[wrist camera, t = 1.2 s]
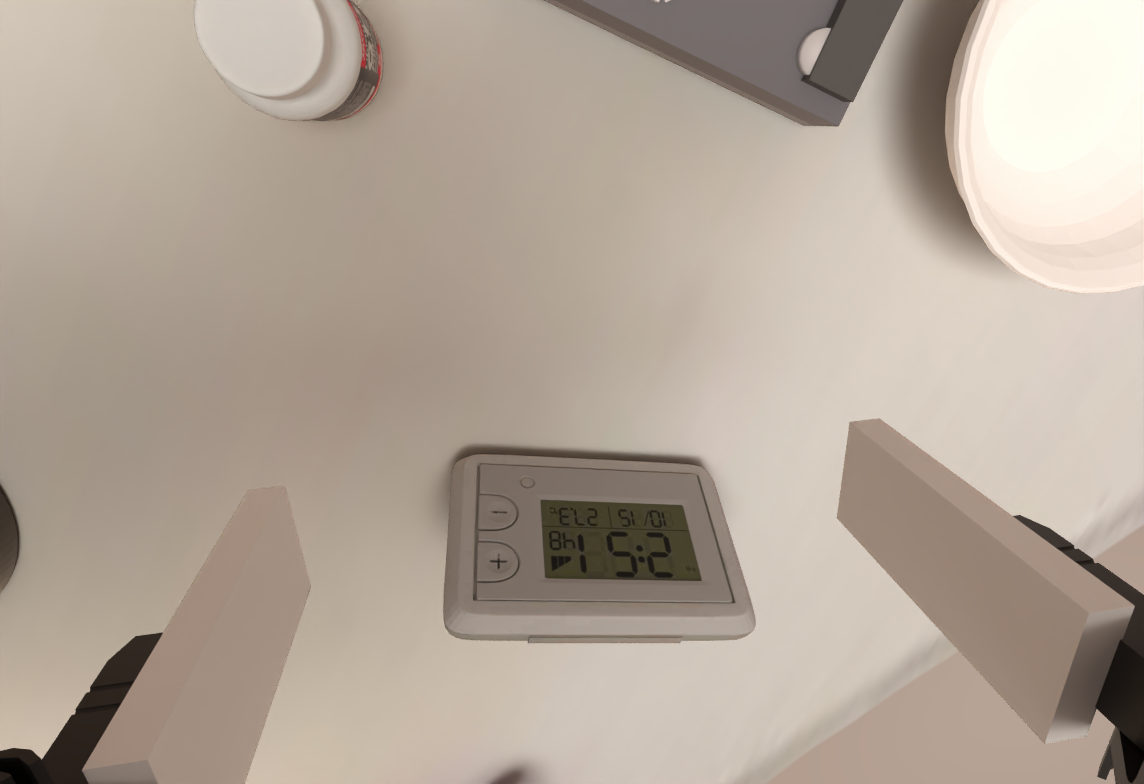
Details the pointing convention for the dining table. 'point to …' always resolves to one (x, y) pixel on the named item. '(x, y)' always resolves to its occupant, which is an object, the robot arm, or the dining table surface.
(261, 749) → the dining table surface
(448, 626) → the digital clock
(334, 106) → the pill bottle
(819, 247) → the dining table surface
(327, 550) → the dining table surface
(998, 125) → the bowl
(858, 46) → the octagonal hole plate
